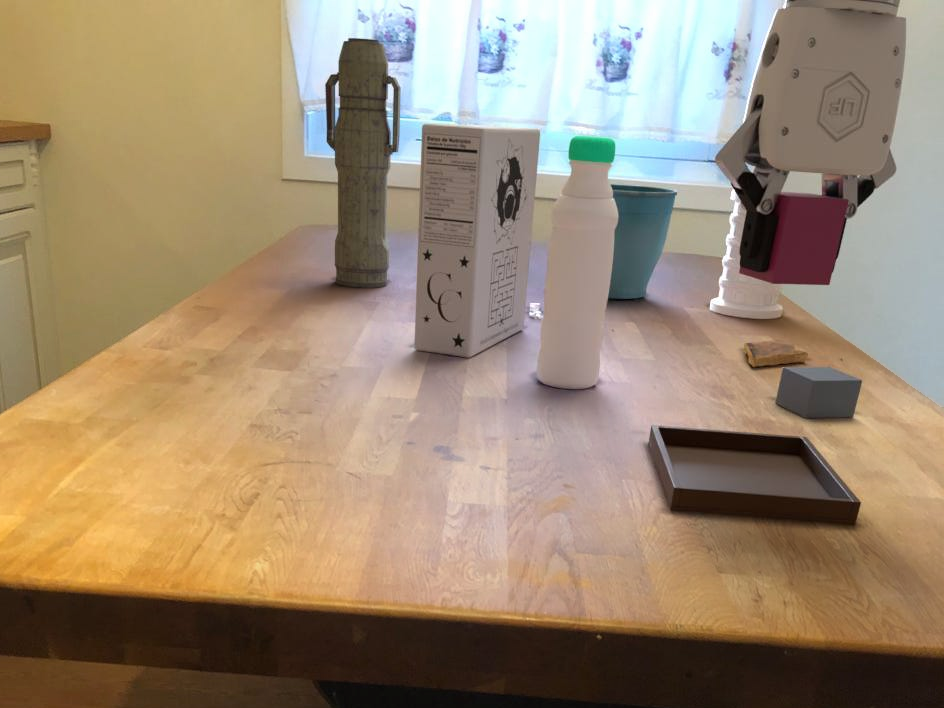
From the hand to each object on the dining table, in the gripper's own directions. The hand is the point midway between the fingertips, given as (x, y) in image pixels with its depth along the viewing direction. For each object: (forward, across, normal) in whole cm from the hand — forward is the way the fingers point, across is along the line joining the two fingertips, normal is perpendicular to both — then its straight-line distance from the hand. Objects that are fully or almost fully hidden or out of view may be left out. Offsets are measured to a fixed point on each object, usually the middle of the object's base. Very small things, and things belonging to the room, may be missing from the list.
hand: (786, 268), depth 76 cm
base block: (+17, +21, +21) cm, 35 cm away
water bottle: (+18, -3, +34) cm, 39 cm away
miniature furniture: (+18, +5, +75) cm, 77 cm away
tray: (+17, 0, -1) cm, 17 cm away
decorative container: (+17, +46, +78) cm, 92 cm away
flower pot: (+18, +28, +93) cm, 99 cm away
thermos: (+18, -14, +101) cm, 103 cm away
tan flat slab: (+18, +30, +44) cm, 56 cm away
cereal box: (+18, -7, +57) cm, 60 cm away
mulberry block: (+1, 0, 0) cm, 1 cm away
